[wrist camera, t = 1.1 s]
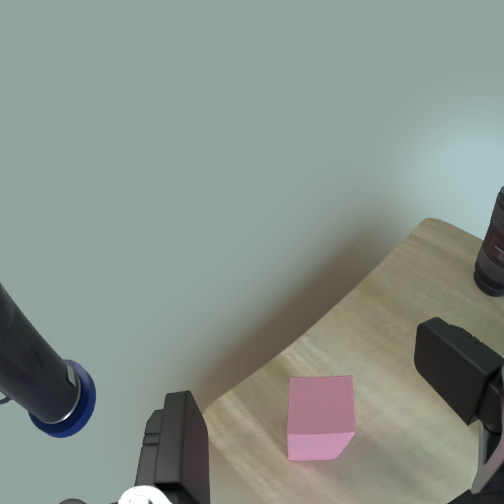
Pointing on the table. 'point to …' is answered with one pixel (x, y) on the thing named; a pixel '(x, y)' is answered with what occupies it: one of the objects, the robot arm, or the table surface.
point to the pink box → (320, 417)
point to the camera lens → (492, 253)
